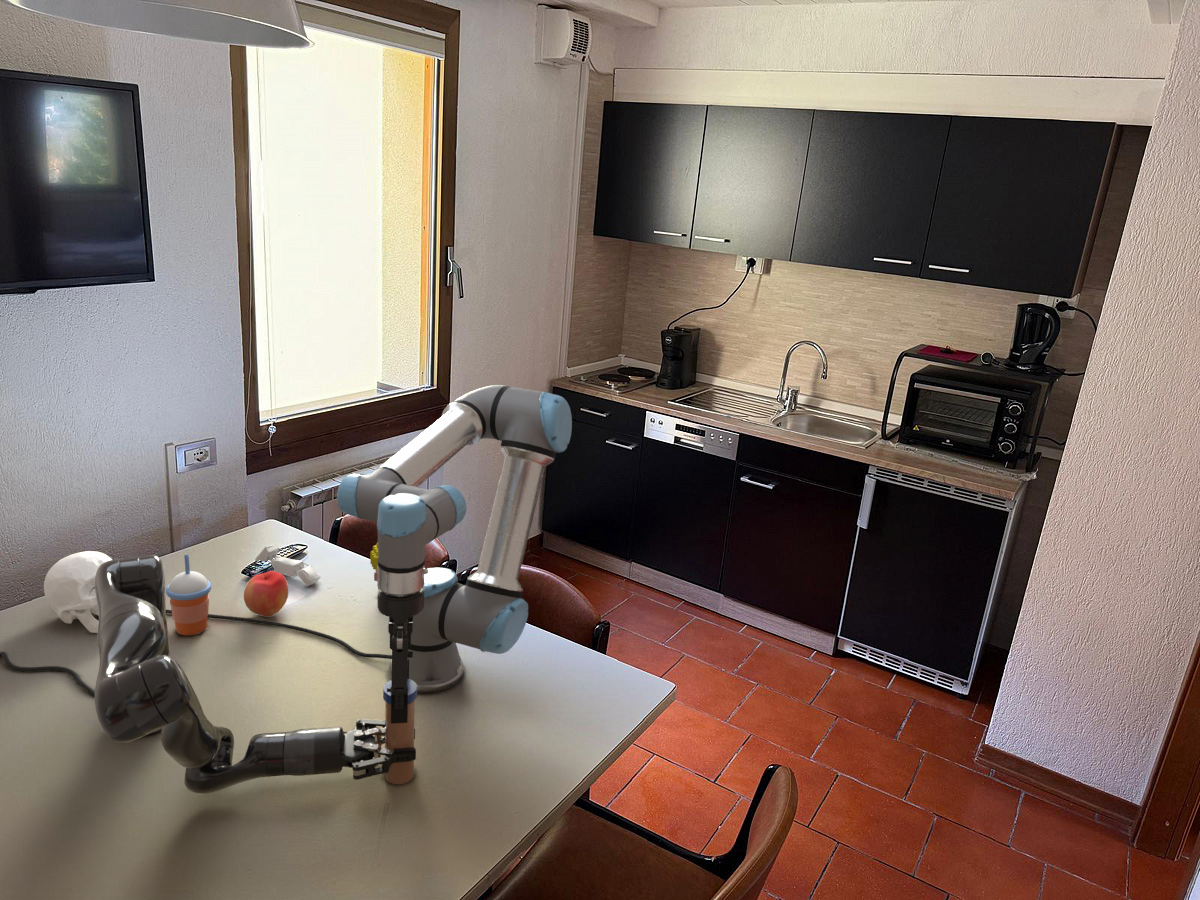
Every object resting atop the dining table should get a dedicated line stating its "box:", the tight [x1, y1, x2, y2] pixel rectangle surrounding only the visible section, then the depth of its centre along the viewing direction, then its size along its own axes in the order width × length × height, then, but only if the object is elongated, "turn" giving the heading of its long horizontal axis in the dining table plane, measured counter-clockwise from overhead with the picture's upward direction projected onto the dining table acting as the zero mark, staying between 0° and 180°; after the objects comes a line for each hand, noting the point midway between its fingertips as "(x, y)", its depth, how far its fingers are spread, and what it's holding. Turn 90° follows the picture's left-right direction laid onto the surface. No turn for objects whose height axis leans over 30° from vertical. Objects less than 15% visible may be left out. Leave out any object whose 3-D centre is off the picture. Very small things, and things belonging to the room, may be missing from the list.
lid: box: [382, 679, 418, 704], centre depth 146 cm, size 6×6×2 cm
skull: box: [43, 550, 113, 634], centre depth 190 cm, size 13×22×16 cm, turn 73°
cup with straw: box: [165, 554, 212, 636], centre depth 189 cm, size 9×9×18 cm
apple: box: [243, 570, 289, 618], centre depth 199 cm, size 10×10×10 cm
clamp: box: [254, 544, 322, 587], centre depth 219 cm, size 20×4×7 cm, turn 62°
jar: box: [384, 699, 416, 785], centre depth 149 cm, size 5×5×17 cm
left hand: (414, 743), depth 150 cm, fingers closed on jar, 5 cm apart
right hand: (400, 706), depth 147 cm, fingers open, 8 cm apart
